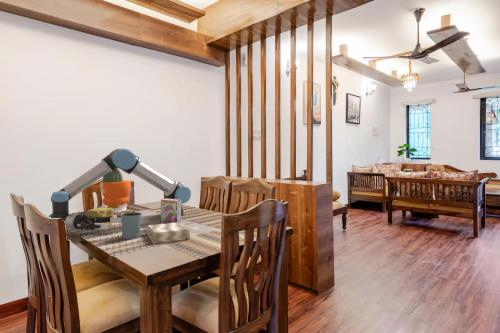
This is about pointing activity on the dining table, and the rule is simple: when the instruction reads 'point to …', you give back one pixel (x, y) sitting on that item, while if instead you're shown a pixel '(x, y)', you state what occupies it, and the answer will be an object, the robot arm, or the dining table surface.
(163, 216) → the candy bar box
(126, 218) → the grey green cup
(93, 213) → the cheese
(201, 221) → the dining table surface
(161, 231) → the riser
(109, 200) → the potted cactus
